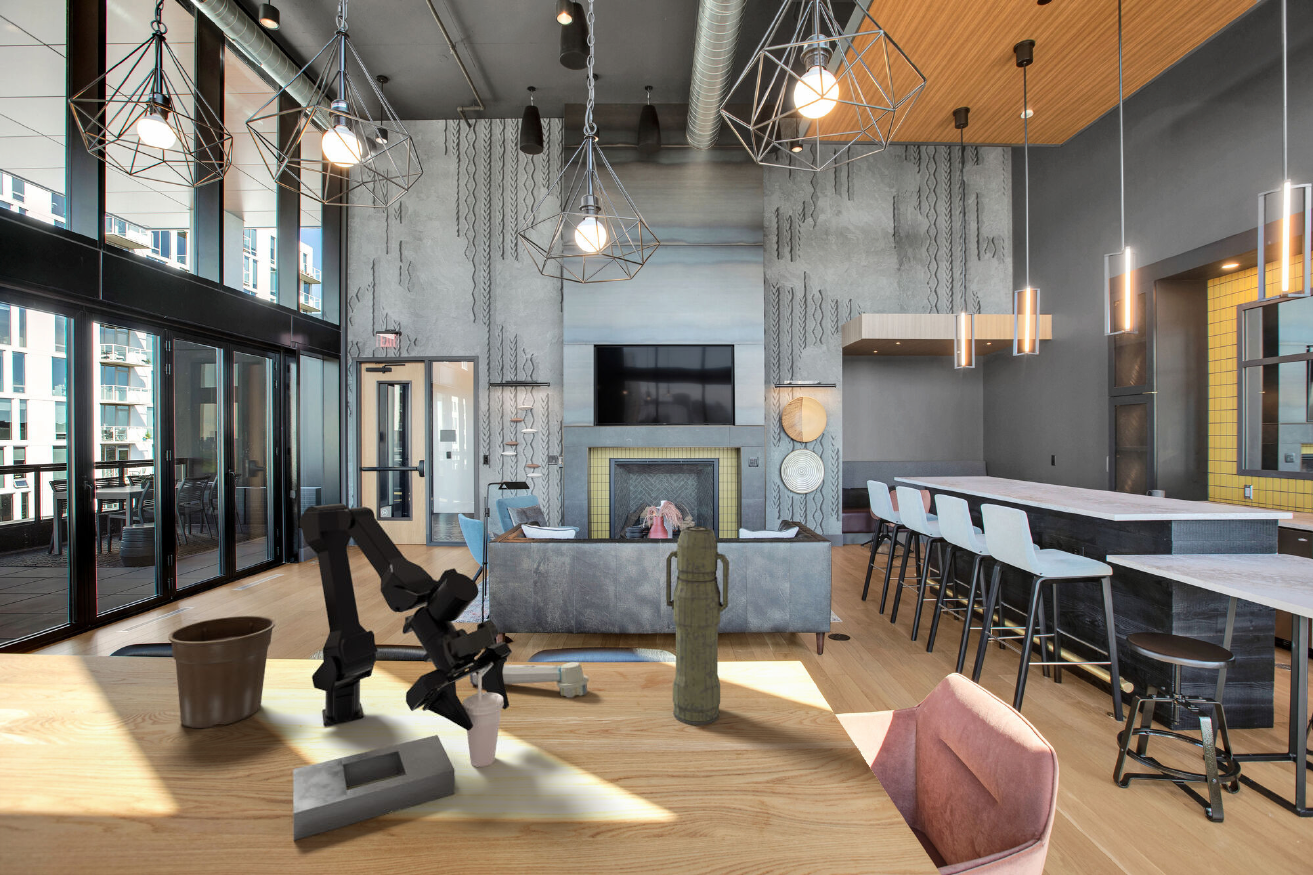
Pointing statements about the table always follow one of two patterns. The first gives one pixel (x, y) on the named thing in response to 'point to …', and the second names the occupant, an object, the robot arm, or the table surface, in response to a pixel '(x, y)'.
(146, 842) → the table surface
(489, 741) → the smoothie
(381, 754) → the block
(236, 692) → the plant pot
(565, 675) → the toothbrush head
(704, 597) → the thermos
